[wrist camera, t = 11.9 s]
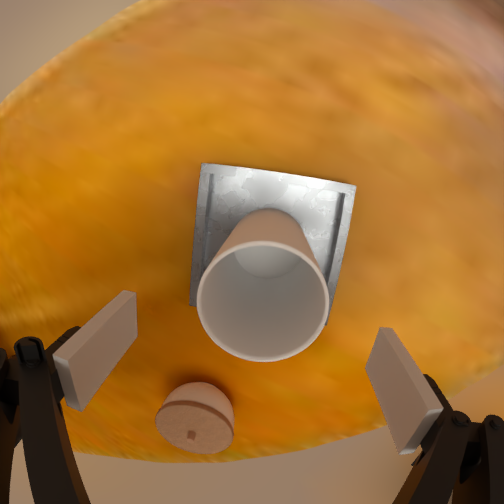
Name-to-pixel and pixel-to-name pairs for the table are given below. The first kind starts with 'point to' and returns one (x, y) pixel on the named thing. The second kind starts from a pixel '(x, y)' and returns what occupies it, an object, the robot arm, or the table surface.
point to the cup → (264, 290)
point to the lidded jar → (197, 418)
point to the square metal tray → (271, 196)
